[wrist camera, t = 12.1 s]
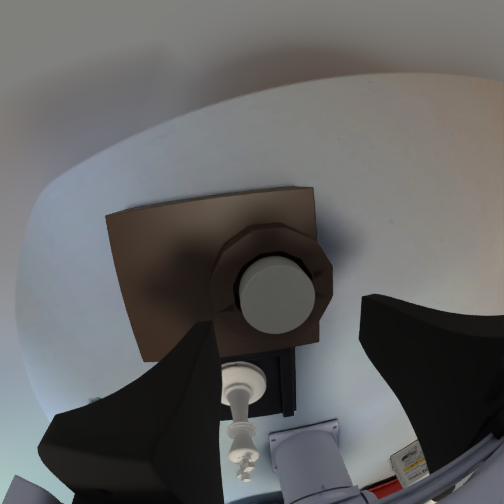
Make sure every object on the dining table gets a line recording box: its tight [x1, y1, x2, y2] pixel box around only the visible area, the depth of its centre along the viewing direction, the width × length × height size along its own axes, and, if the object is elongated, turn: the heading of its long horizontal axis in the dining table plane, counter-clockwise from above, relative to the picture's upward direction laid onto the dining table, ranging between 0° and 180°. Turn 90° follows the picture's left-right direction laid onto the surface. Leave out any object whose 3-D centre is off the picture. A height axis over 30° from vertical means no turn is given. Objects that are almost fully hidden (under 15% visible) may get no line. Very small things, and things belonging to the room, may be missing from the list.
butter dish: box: [367, 478, 403, 499], centre depth 30 cm, size 12×12×8 cm
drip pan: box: [220, 347, 296, 421], centre depth 21 cm, size 10×10×2 cm
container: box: [391, 440, 455, 504], centre depth 25 cm, size 8×8×13 cm
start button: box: [239, 256, 315, 334], centre depth 14 cm, size 4×4×2 cm
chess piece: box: [221, 361, 266, 482], centre depth 17 cm, size 5×5×10 cm
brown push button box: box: [105, 186, 333, 362], centre depth 17 cm, size 10×12×6 cm
